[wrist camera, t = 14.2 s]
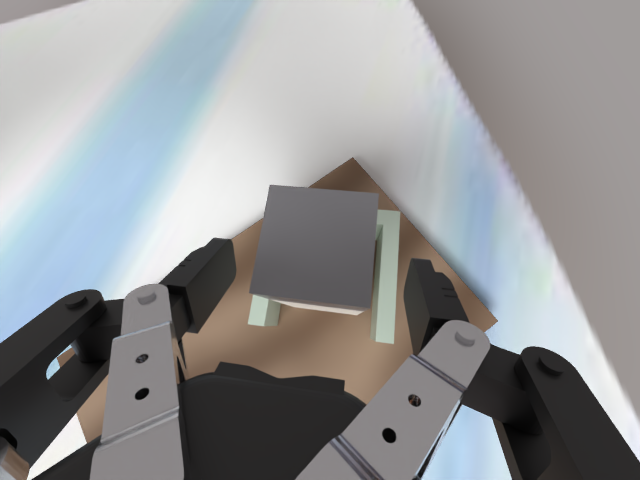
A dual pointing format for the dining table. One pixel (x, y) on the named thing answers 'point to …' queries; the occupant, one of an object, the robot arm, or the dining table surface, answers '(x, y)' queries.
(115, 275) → the dining table surface
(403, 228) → the board
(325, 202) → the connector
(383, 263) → the end holder
